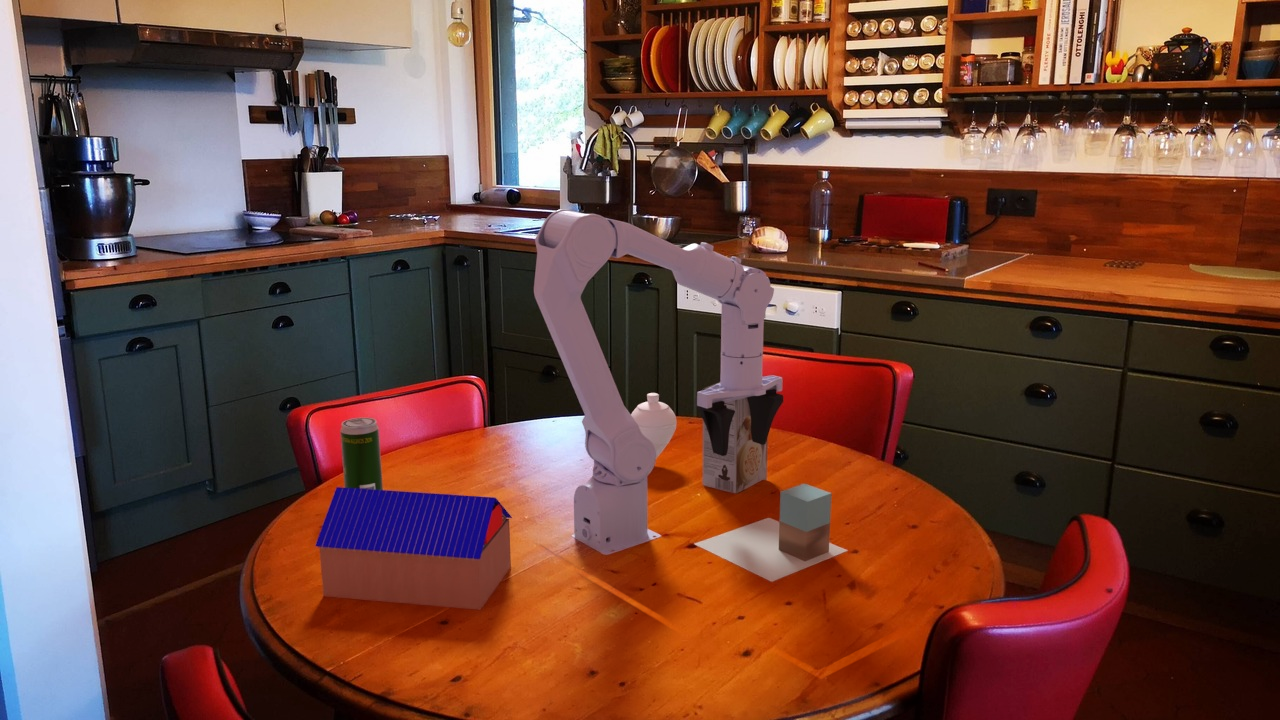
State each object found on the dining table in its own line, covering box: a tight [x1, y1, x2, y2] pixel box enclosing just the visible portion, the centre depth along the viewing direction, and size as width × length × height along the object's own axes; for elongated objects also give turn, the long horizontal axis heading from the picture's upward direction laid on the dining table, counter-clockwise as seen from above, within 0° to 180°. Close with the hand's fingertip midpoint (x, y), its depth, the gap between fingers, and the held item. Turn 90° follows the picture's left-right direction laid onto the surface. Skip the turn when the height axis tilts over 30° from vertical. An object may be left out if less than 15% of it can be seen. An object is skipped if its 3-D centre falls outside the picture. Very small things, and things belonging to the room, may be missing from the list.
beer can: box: [339, 417, 384, 490], centre depth 142 cm, size 5×5×12 cm
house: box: [314, 486, 513, 611], centre depth 116 cm, size 12×20×12 cm, turn 80°
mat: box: [693, 517, 849, 583], centre depth 125 cm, size 14×14×1 cm
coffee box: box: [702, 381, 769, 494], centre depth 147 cm, size 9×6×16 cm
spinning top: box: [630, 392, 678, 459], centre depth 157 cm, size 8×8×12 cm
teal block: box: [779, 483, 832, 532], centre depth 122 cm, size 4×4×4 cm
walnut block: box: [778, 520, 831, 561], centre depth 123 cm, size 4×4×4 cm
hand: (739, 448), depth 135 cm, fingers open, 7 cm apart
